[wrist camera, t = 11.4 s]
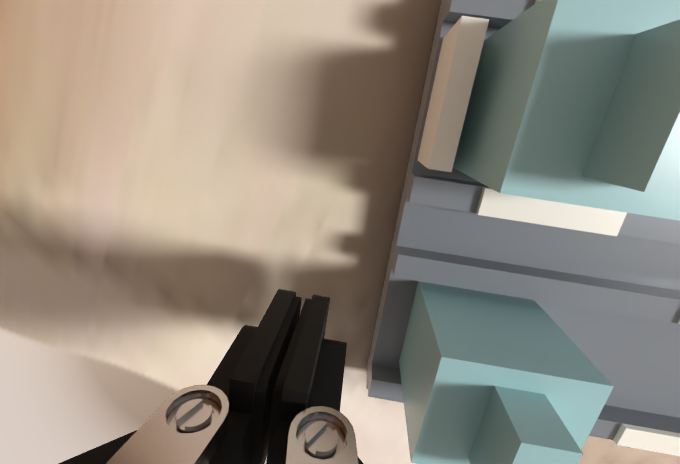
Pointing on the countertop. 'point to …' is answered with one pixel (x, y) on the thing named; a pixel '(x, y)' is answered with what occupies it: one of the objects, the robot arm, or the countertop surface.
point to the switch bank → (532, 253)
